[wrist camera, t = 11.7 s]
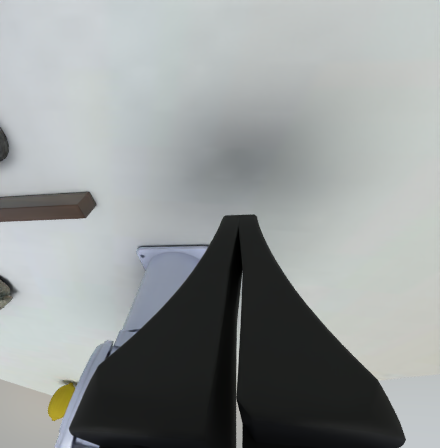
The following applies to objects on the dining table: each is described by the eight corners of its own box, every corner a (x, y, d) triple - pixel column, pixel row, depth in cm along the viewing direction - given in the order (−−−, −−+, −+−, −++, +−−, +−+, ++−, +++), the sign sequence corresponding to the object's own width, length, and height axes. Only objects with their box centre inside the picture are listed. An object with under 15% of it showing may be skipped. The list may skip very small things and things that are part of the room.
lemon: (83, 387, 65) (66, 424, 59) (62, 383, 64) (43, 421, 58) (81, 381, 62) (63, 420, 56) (59, 377, 61) (39, 416, 55)
